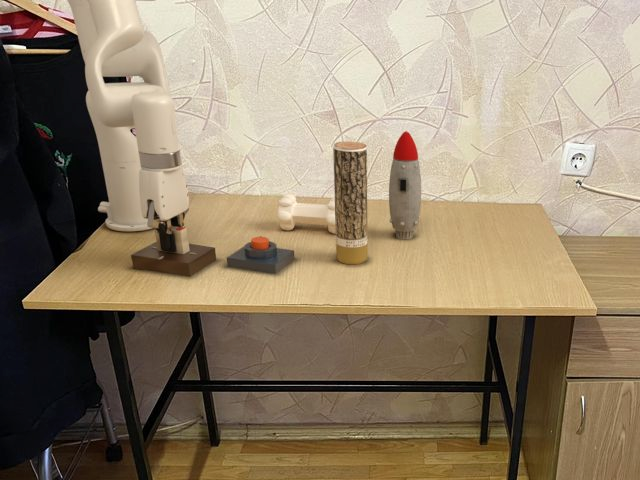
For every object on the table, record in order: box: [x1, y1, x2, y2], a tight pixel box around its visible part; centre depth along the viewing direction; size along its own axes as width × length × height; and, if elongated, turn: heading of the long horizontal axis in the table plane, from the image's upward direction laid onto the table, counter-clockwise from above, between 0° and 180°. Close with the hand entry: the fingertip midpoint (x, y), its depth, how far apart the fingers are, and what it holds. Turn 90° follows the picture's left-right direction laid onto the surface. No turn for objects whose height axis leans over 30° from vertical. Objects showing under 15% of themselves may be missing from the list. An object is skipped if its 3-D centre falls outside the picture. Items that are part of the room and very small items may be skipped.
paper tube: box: [332, 141, 368, 266], centre depth 152 cm, size 7×7×25 cm
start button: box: [250, 236, 270, 249], centre depth 151 cm, size 4×4×2 cm
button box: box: [226, 240, 296, 275], centre depth 152 cm, size 11×9×4 cm
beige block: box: [153, 226, 190, 254], centre depth 147 cm, size 6×2×5 cm, turn 77°
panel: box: [130, 241, 217, 278], centre depth 149 cm, size 13×10×3 cm
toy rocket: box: [388, 130, 422, 240], centre depth 168 cm, size 8×8×25 cm
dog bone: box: [276, 193, 336, 235], centre depth 172 cm, size 15×9×8 cm, turn 87°
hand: (173, 247), depth 148 cm, fingers closed on beige block, 2 cm apart
